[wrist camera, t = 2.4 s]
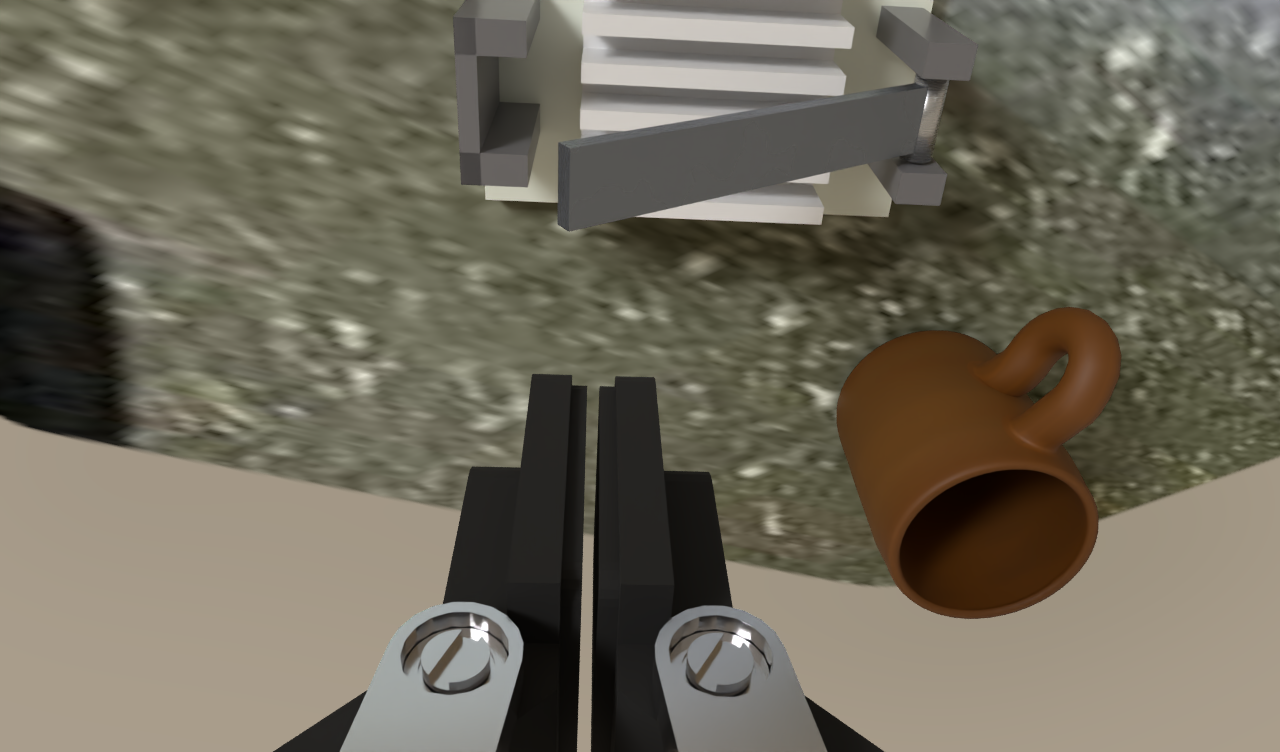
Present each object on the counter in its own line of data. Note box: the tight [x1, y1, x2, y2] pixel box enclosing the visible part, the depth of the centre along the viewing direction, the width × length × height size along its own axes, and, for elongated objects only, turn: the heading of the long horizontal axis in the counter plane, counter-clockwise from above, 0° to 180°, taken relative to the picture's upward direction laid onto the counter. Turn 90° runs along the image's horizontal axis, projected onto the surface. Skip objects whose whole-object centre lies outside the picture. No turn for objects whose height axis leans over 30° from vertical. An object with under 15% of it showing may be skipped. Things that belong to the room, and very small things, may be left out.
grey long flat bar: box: [558, 74, 949, 231], centre depth 25 cm, size 14×3×1 cm
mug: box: [837, 307, 1121, 619], centre depth 35 cm, size 12×8×9 cm, turn 160°
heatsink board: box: [453, 0, 978, 225], centre depth 30 cm, size 15×10×6 cm, turn 87°
